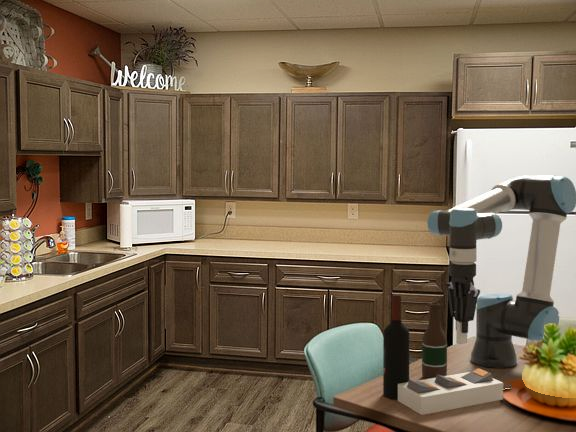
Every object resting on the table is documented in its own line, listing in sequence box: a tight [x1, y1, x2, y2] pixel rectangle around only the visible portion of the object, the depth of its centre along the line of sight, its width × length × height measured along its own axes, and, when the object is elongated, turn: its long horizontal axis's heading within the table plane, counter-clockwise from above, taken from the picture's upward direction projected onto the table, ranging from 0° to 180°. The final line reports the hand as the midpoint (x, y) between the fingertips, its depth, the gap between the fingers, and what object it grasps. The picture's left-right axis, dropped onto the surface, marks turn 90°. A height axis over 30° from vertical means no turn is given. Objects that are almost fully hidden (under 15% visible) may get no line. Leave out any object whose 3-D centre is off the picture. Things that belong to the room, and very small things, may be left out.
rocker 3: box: [462, 367, 493, 384], centre depth 198 cm, size 6×6×2 cm
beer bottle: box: [421, 301, 448, 379], centre depth 214 cm, size 8×8×24 cm
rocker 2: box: [435, 375, 466, 388], centre depth 194 cm, size 6×6×2 cm
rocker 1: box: [407, 378, 439, 393], centre depth 191 cm, size 6×6×2 cm
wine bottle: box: [382, 294, 410, 401], centre depth 198 cm, size 8×8×30 cm
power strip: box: [397, 371, 513, 416], centre depth 196 cm, size 36×12×5 cm, turn 113°
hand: (461, 343), depth 195 cm, fingers closed
